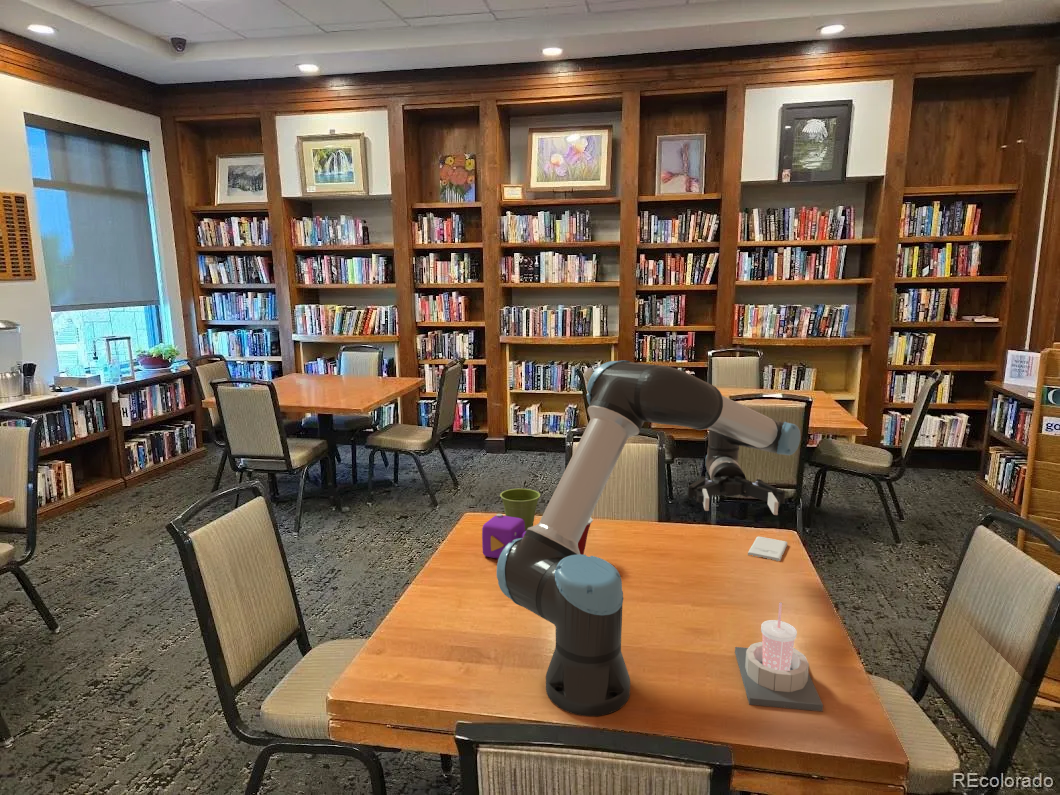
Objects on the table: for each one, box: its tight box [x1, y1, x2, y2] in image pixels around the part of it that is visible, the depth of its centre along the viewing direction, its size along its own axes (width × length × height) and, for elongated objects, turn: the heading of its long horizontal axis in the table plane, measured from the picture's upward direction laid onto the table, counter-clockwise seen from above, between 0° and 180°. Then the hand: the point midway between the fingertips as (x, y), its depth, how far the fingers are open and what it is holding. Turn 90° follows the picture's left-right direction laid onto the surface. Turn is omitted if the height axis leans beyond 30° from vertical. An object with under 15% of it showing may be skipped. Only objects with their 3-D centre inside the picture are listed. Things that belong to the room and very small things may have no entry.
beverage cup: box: [760, 602, 798, 671], centre depth 115 cm, size 6×6×14 cm
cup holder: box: [734, 641, 824, 712], centre depth 116 cm, size 12×16×4 cm
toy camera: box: [481, 513, 526, 560], centre depth 171 cm, size 11×14×10 cm
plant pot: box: [499, 488, 541, 531], centre depth 187 cm, size 12×12×11 cm
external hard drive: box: [747, 535, 788, 562], centre depth 174 cm, size 2×8×12 cm
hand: (741, 506), depth 130 cm, fingers open, 13 cm apart
